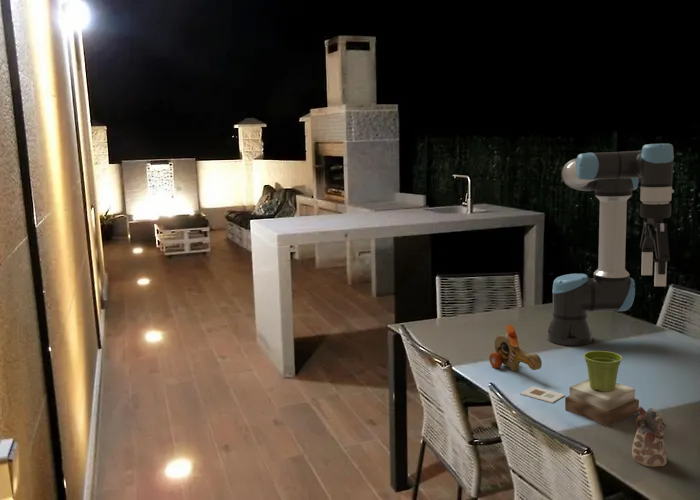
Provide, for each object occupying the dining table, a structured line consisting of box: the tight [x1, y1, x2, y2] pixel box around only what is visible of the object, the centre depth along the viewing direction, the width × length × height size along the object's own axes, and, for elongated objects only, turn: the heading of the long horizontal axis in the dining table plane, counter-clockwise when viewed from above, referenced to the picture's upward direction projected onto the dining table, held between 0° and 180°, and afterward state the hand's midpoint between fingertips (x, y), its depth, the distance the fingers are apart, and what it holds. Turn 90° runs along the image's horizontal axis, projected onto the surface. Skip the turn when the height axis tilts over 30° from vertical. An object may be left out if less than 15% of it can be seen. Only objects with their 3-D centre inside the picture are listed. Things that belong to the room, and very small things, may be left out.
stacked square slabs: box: [564, 379, 640, 427], centre depth 169 cm, size 13×13×6 cm
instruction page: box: [520, 385, 566, 404], centre depth 182 cm, size 10×7×1 cm
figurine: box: [631, 406, 668, 468], centre depth 143 cm, size 7×7×12 cm
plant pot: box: [583, 350, 623, 392], centre depth 168 cm, size 9×9×9 cm
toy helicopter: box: [488, 323, 543, 372], centre depth 199 cm, size 8×21×14 cm, turn 24°
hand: (653, 280), depth 174 cm, fingers open, 13 cm apart
